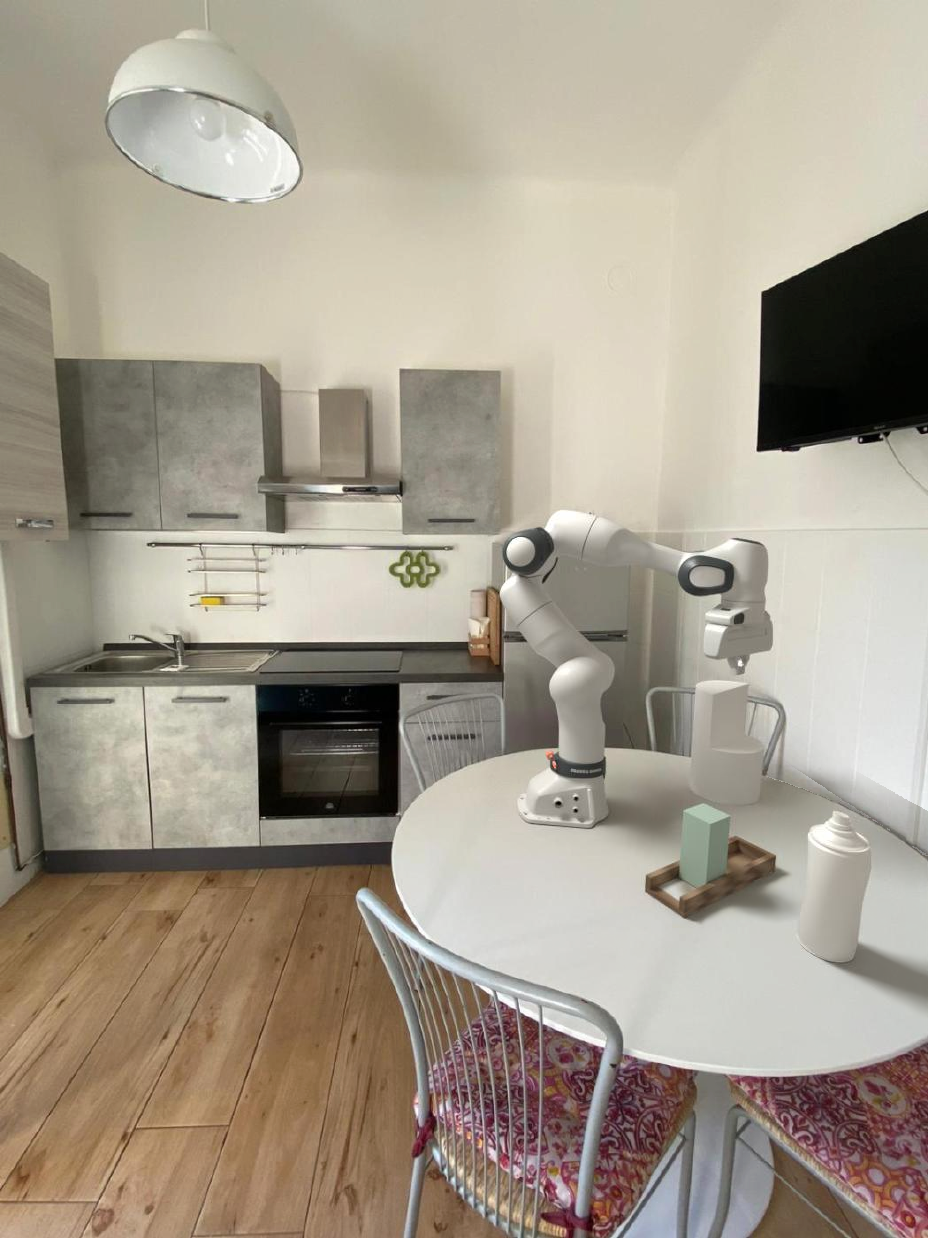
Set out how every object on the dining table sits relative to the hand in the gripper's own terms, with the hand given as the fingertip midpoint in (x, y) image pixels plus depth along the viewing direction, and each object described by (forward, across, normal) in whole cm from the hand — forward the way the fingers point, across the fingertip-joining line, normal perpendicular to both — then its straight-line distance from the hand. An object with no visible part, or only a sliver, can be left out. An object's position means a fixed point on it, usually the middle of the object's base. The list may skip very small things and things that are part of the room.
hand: (737, 674), depth 130 cm
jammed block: (+36, +24, +11) cm, 44 cm away
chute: (+37, +20, +11) cm, 44 cm away
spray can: (+37, +21, +33) cm, 54 cm away
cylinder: (+37, -18, -13) cm, 43 cm away
